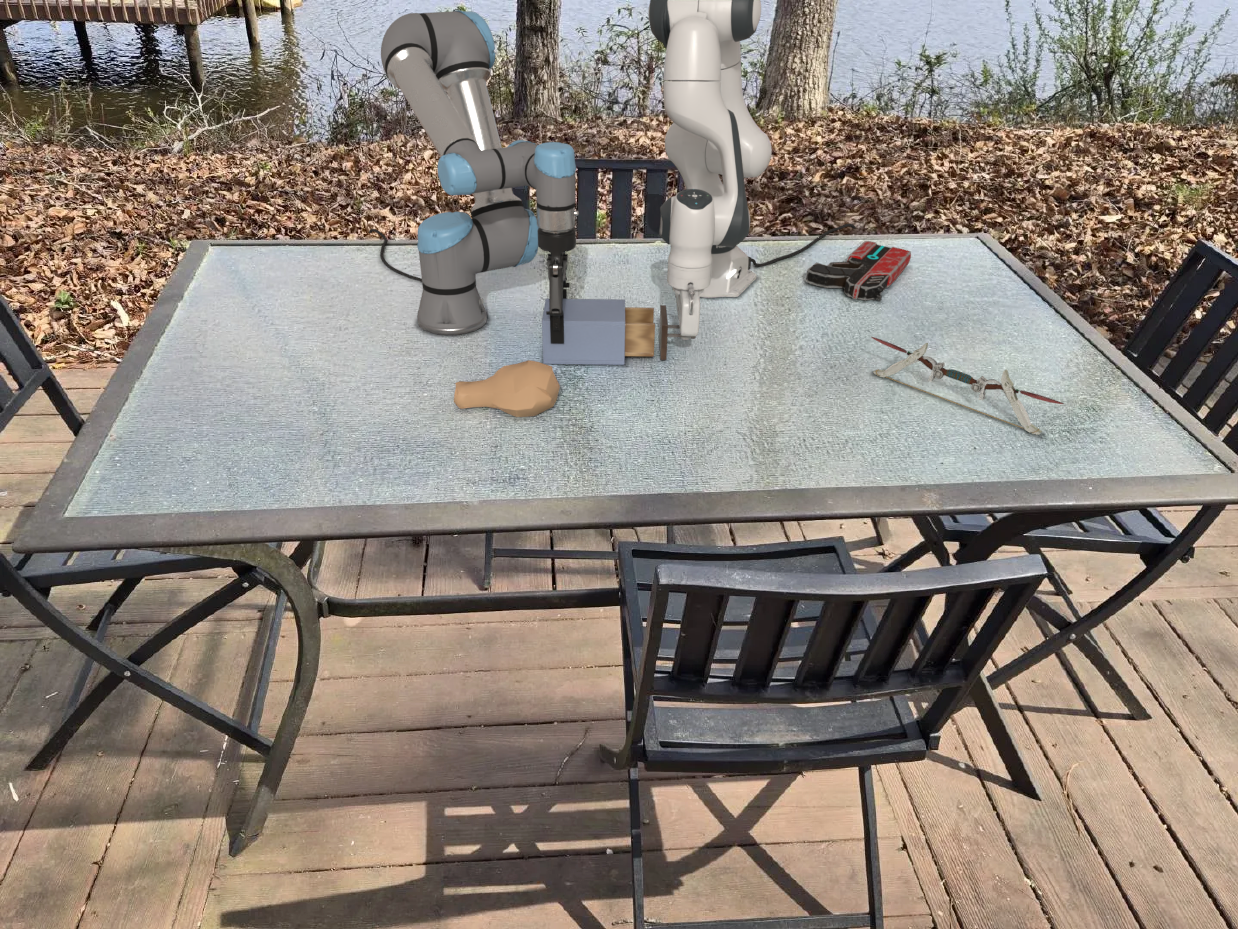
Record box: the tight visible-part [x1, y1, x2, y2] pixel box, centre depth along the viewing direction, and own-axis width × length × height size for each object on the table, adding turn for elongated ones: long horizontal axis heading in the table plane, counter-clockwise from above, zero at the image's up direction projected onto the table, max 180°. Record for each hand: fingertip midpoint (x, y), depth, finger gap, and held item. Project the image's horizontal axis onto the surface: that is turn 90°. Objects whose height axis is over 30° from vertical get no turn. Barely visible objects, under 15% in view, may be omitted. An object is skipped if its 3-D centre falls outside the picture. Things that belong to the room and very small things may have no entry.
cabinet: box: [541, 297, 626, 366], centre depth 183 cm, size 17×11×10 cm
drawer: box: [625, 304, 697, 361], centre depth 183 cm, size 22×10×8 cm, turn 90°
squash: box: [453, 359, 561, 418], centre depth 163 cm, size 11×20×9 cm, turn 90°
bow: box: [870, 336, 1065, 436], centre depth 169 cm, size 39×2×10 cm, turn 47°
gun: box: [805, 240, 912, 302], centre depth 224 cm, size 4×31×19 cm
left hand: (559, 330), depth 183 cm, fingers closed on cabinet, 11 cm apart
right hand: (684, 336), depth 184 cm, fingers closed, pressing on drawer
